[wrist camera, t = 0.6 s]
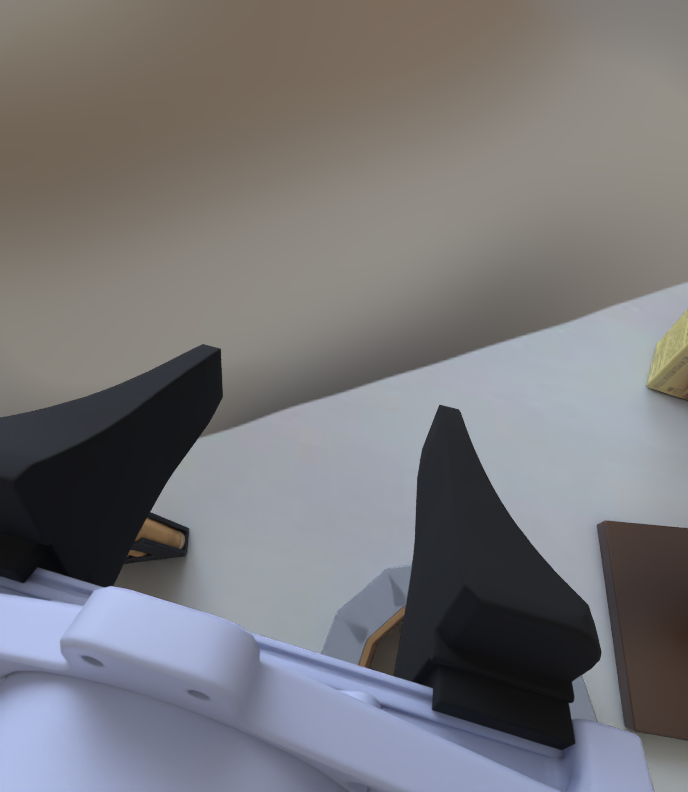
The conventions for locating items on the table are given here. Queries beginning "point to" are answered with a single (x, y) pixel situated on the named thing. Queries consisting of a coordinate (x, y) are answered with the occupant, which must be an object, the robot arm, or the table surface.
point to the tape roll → (383, 611)
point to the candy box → (671, 361)
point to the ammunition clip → (158, 540)
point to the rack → (649, 622)
